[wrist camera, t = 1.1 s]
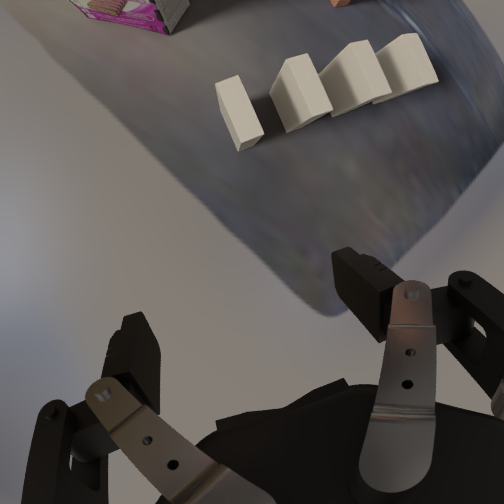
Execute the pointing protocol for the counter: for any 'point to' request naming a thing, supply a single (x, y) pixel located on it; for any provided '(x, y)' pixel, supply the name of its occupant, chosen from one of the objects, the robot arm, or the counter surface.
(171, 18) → the candy bar box
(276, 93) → the domino
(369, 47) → the domino
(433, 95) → the counter surface
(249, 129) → the domino
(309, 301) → the counter surface
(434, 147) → the counter surface
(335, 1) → the domino
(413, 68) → the domino
